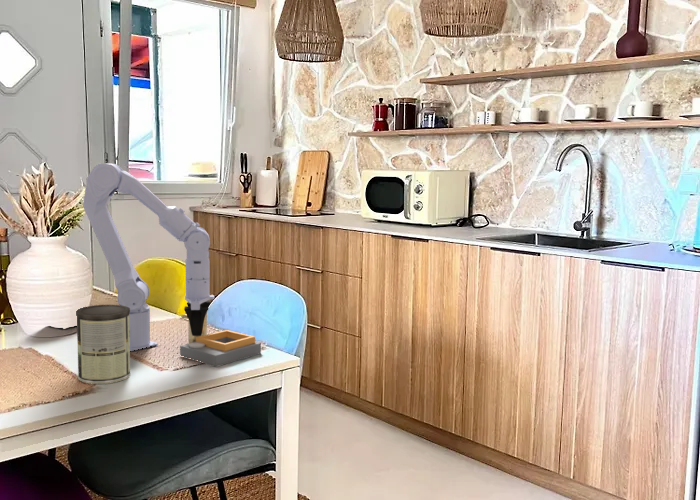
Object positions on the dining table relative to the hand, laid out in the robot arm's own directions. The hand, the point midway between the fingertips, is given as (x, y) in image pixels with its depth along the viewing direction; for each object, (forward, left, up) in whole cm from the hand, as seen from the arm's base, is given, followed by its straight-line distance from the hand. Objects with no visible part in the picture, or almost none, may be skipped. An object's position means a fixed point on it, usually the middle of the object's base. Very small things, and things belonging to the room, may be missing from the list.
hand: (197, 332), depth 162 cm
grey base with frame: (-2, -11, -3) cm, 12 cm away
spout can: (0, 0, -3) cm, 3 cm away
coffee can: (-29, -5, -3) cm, 30 cm away
